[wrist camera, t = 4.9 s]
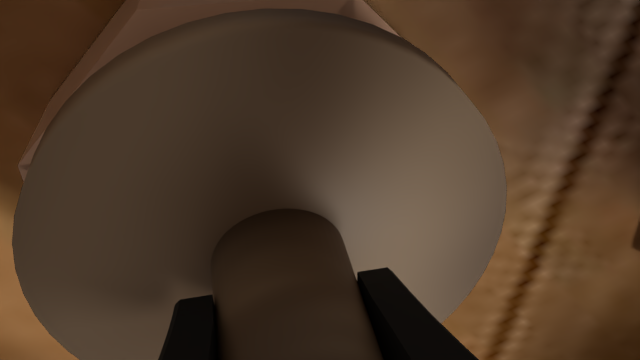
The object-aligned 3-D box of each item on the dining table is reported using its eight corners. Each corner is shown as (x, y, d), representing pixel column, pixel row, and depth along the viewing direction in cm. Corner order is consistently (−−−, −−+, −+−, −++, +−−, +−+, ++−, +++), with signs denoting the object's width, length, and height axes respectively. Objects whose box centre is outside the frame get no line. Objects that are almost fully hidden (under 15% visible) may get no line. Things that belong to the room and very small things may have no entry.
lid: (534, -6, 10) (747, 140, 7) (449, 337, 16) (534, 520, 13) (-59, 25, 9) (-247, 246, 5) (87, 394, 15) (55, 627, 11)
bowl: (436, -49, 15) (495, -19, 12) (411, 258, 21) (448, 328, 18) (13, -20, 14) (-35, 22, 11) (112, 304, 19) (98, 389, 16)
